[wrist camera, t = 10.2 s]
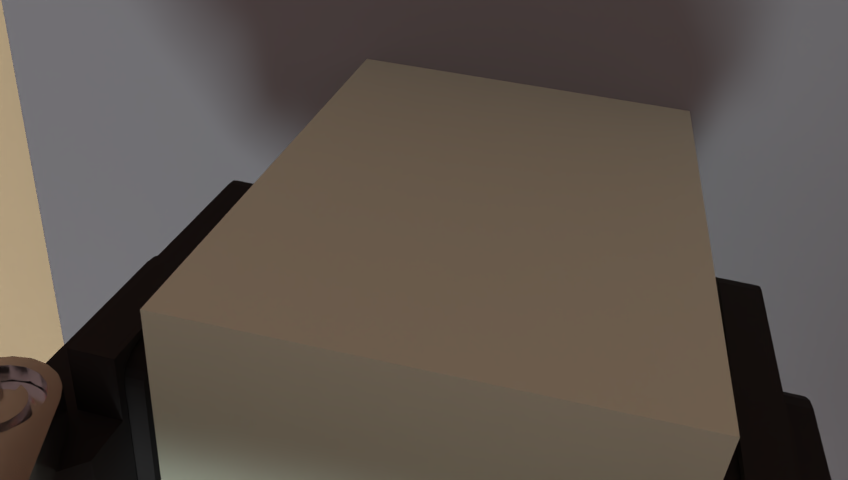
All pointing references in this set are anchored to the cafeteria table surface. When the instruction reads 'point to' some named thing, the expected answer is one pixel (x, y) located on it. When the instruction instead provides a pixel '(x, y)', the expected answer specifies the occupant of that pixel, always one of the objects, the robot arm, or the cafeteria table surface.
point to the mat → (458, 53)
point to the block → (452, 297)
